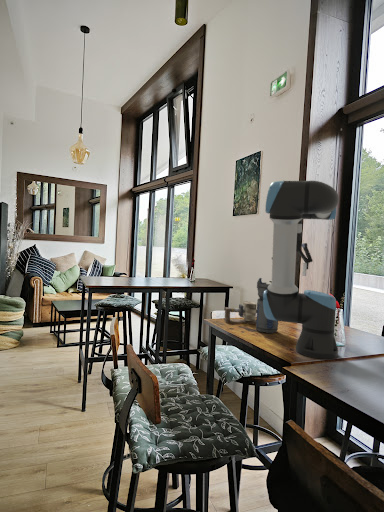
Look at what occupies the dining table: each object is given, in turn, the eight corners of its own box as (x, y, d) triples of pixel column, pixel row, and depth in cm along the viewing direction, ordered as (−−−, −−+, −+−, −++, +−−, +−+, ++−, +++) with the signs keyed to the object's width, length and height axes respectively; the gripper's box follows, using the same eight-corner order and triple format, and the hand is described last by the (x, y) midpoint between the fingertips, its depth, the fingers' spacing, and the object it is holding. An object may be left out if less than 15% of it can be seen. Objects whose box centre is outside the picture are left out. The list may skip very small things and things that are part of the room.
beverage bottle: (285, 334, 158) (289, 280, 157) (257, 333, 157) (260, 279, 156) (278, 329, 168) (281, 278, 168) (251, 328, 167) (254, 277, 166)
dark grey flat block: (240, 314, 183) (241, 304, 183) (242, 317, 177) (243, 306, 177) (238, 314, 183) (239, 304, 183) (240, 316, 177) (241, 306, 177)
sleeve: (251, 317, 185) (252, 301, 184) (255, 321, 176) (256, 304, 176) (242, 317, 184) (243, 301, 184) (245, 320, 176) (246, 303, 176)
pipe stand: (264, 321, 184) (265, 308, 184) (268, 324, 177) (269, 311, 177) (224, 319, 183) (224, 306, 183) (226, 322, 176) (226, 309, 176)
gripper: (314, 234, 176) (311, 275, 176) (267, 231, 174) (264, 273, 174) (321, 234, 168) (318, 277, 169) (271, 230, 166) (269, 274, 167)
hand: (291, 275), depth 171 cm, fingers open, 13 cm apart
